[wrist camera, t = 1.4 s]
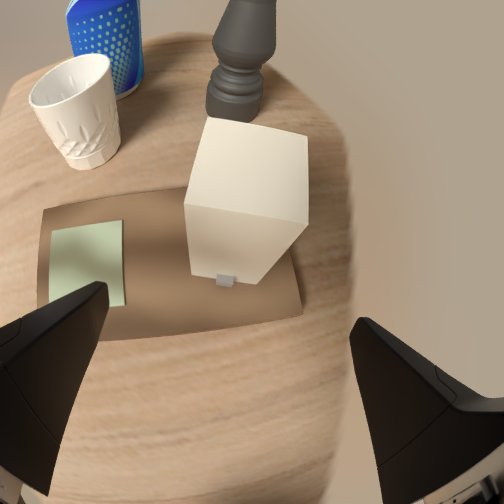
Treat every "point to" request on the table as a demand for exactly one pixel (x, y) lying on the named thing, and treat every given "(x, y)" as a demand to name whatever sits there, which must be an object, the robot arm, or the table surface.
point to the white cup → (79, 110)
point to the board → (150, 269)
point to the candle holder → (241, 59)
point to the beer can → (109, 38)
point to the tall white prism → (245, 200)
